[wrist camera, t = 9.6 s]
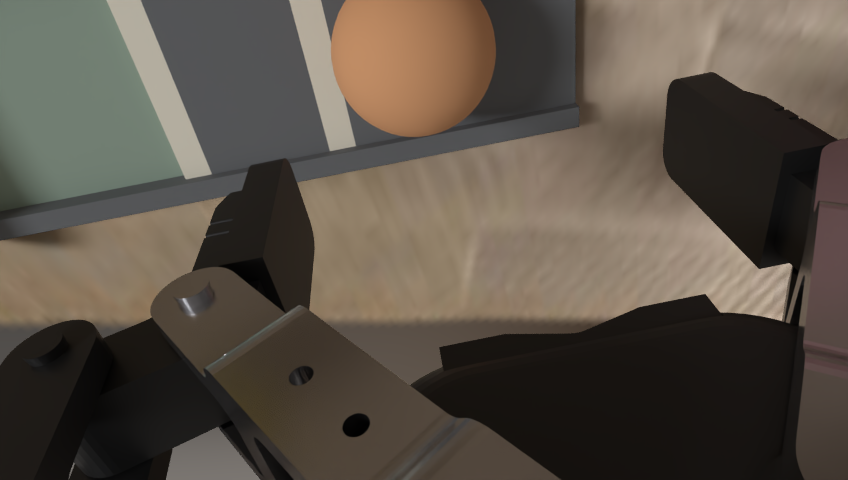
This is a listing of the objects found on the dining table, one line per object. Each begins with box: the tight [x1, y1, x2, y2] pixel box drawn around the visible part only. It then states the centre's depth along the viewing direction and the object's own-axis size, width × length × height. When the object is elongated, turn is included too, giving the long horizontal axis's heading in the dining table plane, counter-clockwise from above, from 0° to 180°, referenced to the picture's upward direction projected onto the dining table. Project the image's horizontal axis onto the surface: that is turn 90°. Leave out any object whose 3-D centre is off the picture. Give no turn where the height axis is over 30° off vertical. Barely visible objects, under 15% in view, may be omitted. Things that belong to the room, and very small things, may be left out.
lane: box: [0, 0, 579, 240], centre depth 19 cm, size 24×9×3 cm, turn 99°
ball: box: [331, 0, 496, 137], centre depth 18 cm, size 5×5×5 cm
